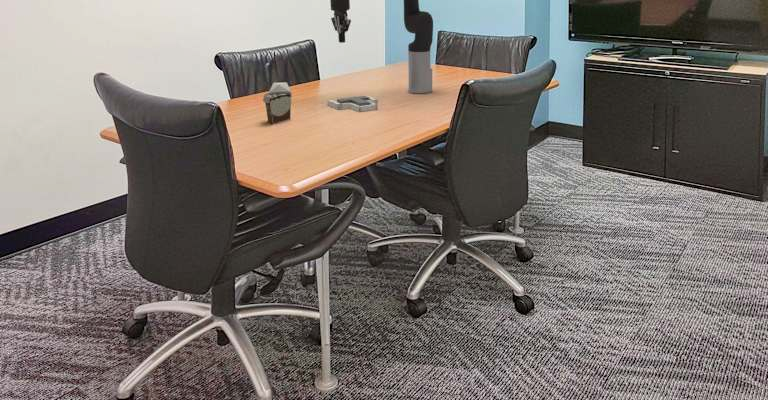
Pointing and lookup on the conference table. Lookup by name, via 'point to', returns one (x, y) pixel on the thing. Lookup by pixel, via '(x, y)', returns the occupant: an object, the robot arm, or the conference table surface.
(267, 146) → the conference table surface
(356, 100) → the t block
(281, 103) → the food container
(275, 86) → the grey rounded block
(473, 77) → the conference table surface
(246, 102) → the conference table surface
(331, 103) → the t dock
